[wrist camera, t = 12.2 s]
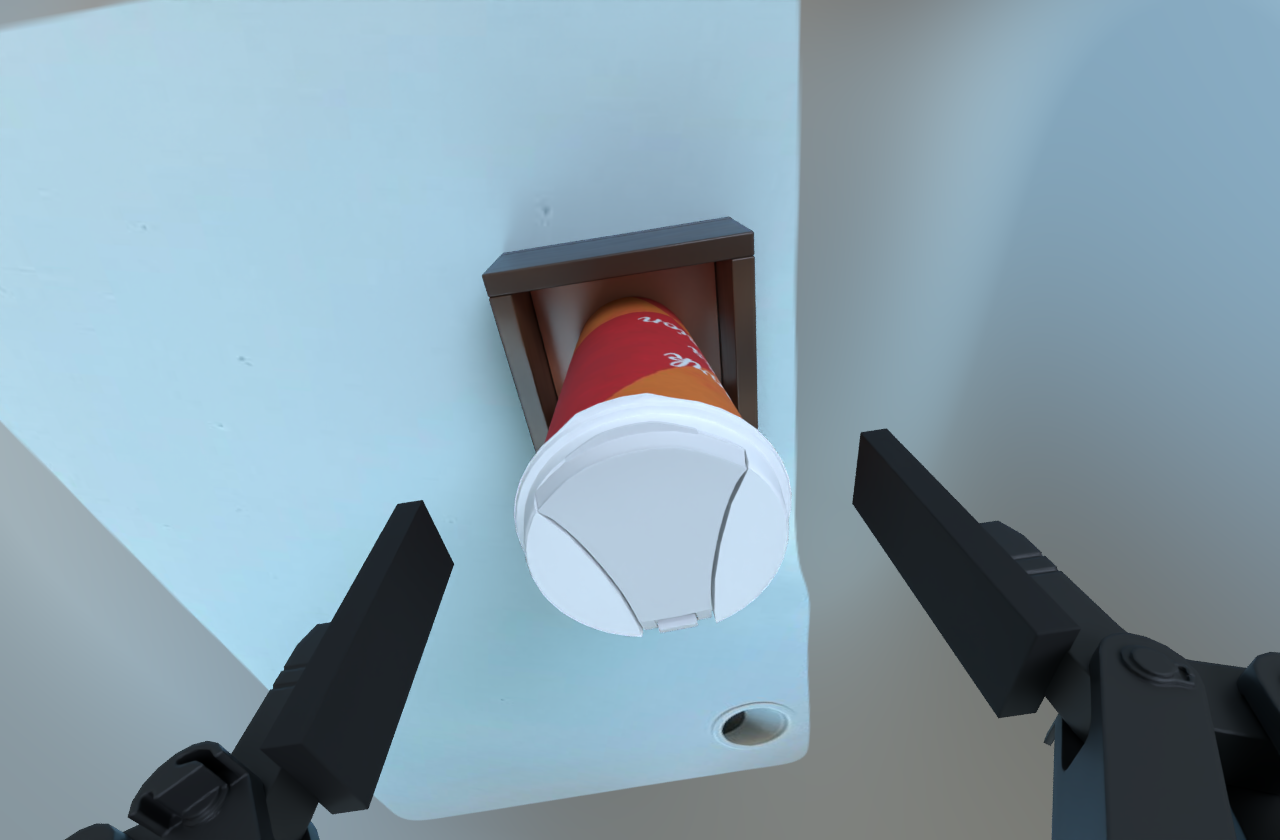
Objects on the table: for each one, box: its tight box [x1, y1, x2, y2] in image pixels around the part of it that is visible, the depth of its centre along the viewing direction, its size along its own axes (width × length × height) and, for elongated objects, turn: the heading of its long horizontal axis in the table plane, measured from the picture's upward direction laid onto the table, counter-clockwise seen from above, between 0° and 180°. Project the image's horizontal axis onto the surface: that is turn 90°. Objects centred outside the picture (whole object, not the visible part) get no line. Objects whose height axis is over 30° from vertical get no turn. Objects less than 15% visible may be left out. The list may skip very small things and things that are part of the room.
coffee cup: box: [514, 297, 792, 637], centre depth 19 cm, size 8×8×15 cm
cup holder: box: [482, 217, 758, 453], centre depth 27 cm, size 22×12×5 cm, turn 8°
